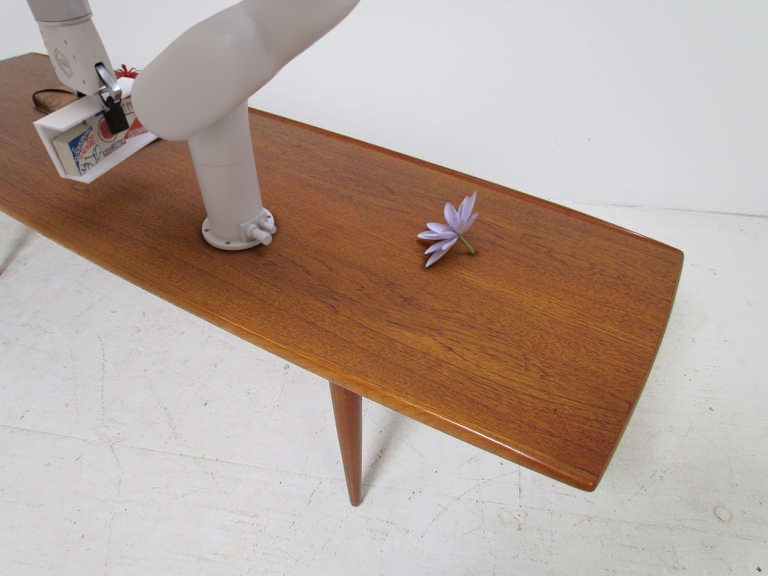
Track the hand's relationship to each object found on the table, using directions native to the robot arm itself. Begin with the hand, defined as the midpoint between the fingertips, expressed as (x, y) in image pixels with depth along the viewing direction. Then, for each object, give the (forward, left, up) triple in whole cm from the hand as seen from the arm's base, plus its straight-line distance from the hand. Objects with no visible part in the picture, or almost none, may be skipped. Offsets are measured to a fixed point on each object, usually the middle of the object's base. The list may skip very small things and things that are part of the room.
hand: (107, 124), depth 83 cm
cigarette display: (0, 0, -5) cm, 5 cm away
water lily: (-53, -26, -16) cm, 61 cm away
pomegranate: (+37, -25, -16) cm, 48 cm away
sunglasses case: (+49, -17, -16) cm, 55 cm away
